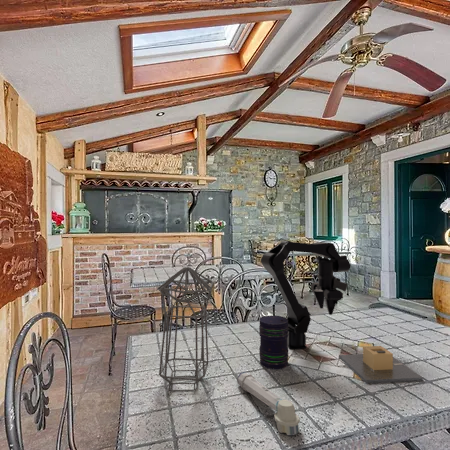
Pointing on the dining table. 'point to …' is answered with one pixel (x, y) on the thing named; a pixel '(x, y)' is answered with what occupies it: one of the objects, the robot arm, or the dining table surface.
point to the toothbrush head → (272, 404)
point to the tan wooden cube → (377, 358)
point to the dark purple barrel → (273, 342)
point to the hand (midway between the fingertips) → (325, 311)
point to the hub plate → (379, 371)
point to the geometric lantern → (209, 289)
